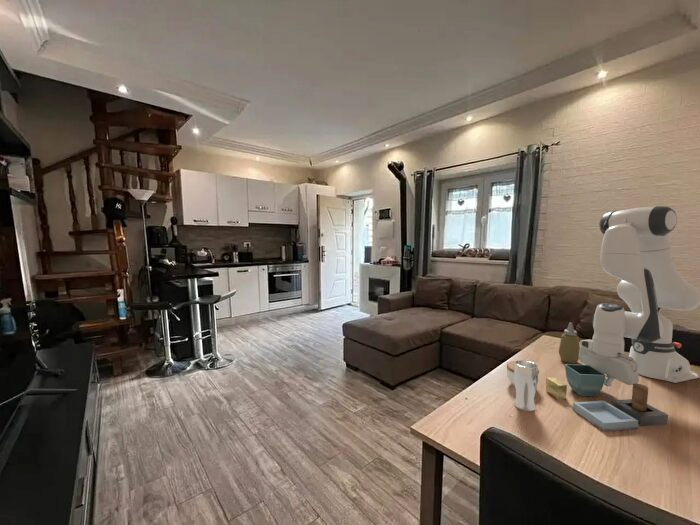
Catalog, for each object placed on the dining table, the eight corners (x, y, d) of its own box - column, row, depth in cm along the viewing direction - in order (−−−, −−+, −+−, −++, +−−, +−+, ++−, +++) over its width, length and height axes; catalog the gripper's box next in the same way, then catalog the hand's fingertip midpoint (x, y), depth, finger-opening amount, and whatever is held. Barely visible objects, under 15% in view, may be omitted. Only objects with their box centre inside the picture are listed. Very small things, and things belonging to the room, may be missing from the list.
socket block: (636, 407, 100) (637, 398, 99) (667, 424, 91) (668, 414, 90) (611, 409, 99) (612, 400, 99) (640, 426, 90) (641, 416, 90)
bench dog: (553, 389, 111) (553, 377, 111) (566, 398, 106) (566, 385, 105) (545, 390, 111) (546, 377, 111) (558, 399, 105) (558, 385, 105)
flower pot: (587, 387, 113) (588, 364, 112) (605, 399, 104) (606, 375, 104) (563, 386, 114) (564, 363, 113) (578, 398, 105) (579, 374, 105)
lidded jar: (538, 396, 107) (539, 371, 106) (505, 388, 113) (505, 364, 112) (538, 383, 116) (539, 360, 116) (507, 377, 122) (508, 355, 121)
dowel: (637, 412, 97) (639, 383, 96) (649, 419, 93) (651, 388, 92) (627, 413, 96) (629, 383, 95) (639, 419, 93) (641, 389, 92)
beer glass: (533, 402, 103) (535, 361, 102) (539, 414, 97) (541, 369, 95) (511, 399, 106) (512, 358, 104) (515, 410, 99) (516, 366, 98)
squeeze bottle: (577, 359, 138) (579, 321, 137) (582, 366, 131) (584, 326, 130) (556, 356, 142) (558, 319, 140) (560, 363, 134) (562, 324, 133)
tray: (603, 407, 100) (603, 400, 99) (637, 428, 89) (638, 420, 89) (572, 409, 99) (573, 402, 99) (603, 431, 88) (604, 423, 88)
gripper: (646, 359, 98) (643, 399, 100) (591, 338, 119) (589, 371, 120) (628, 360, 98) (625, 400, 99) (576, 339, 118) (574, 372, 119)
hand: (605, 384), depth 110 cm, fingers closed
